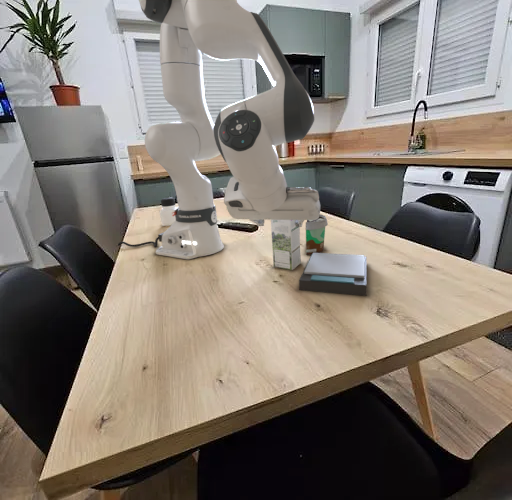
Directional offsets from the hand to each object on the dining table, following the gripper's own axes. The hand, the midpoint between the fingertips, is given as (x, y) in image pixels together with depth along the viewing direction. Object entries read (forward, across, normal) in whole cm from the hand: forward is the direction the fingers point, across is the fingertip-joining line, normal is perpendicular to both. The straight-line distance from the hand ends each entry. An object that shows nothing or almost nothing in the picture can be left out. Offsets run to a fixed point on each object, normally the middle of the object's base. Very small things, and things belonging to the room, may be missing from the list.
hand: (279, 224), depth 71 cm
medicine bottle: (+42, +65, -23) cm, 81 cm away
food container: (+23, -6, -4) cm, 24 cm away
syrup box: (+13, 0, +6) cm, 14 cm away
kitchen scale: (+9, -13, +9) cm, 18 cm away
